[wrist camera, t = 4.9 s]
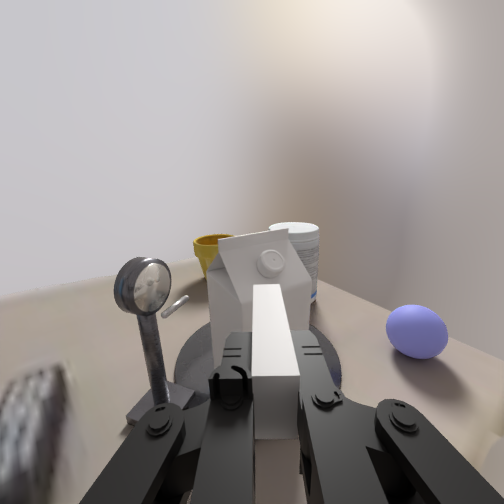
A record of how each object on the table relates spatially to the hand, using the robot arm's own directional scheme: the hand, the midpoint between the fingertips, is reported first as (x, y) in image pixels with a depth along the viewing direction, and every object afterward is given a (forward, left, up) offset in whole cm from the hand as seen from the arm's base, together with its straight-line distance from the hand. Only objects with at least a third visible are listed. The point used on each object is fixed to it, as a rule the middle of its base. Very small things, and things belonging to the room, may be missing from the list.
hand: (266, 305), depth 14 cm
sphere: (+22, -14, -17) cm, 31 cm away
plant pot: (+36, +24, -17) cm, 46 cm away
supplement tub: (+32, +5, -17) cm, 37 cm away
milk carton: (+7, +3, -17) cm, 19 cm away
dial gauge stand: (+3, +13, -17) cm, 21 cm away
